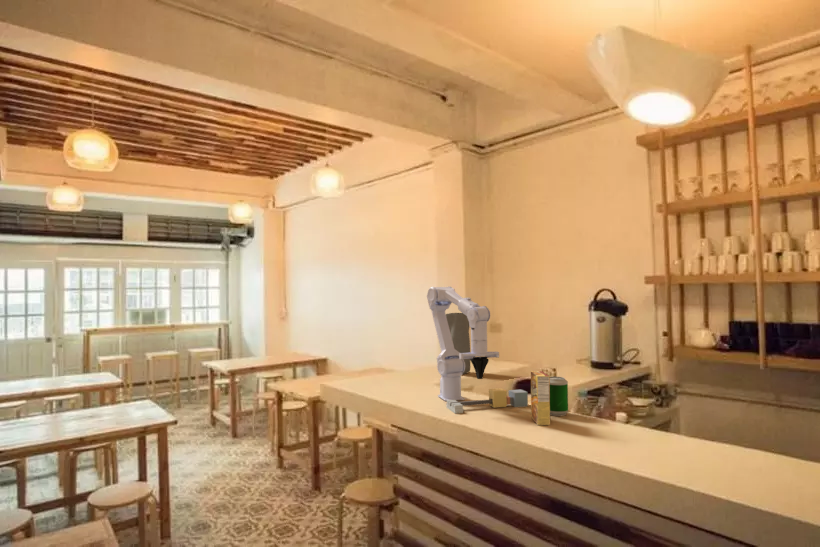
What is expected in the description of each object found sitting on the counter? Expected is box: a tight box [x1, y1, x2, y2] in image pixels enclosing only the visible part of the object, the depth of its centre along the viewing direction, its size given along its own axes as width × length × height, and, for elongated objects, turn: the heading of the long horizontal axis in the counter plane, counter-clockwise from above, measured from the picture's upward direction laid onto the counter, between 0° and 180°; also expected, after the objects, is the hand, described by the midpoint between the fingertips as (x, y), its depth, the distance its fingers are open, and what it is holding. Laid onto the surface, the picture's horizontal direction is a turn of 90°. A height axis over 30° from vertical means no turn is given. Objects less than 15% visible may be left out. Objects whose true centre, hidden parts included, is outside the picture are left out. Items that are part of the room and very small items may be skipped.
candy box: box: [530, 370, 551, 426], centre depth 155 cm, size 9×4×15 cm, turn 179°
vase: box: [445, 312, 471, 375], centre depth 246 cm, size 12×12×30 cm
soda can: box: [550, 376, 569, 417], centre depth 164 cm, size 8×8×12 cm
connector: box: [507, 389, 529, 408], centre depth 177 cm, size 5×7×5 cm
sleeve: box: [488, 387, 508, 408], centre depth 175 cm, size 4×5×6 cm
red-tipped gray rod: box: [451, 395, 511, 407], centre depth 173 cm, size 23×3×3 cm, turn 105°
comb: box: [445, 400, 464, 414], centre depth 171 cm, size 9×3×3 cm, turn 15°
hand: (479, 378), depth 173 cm, fingers closed
